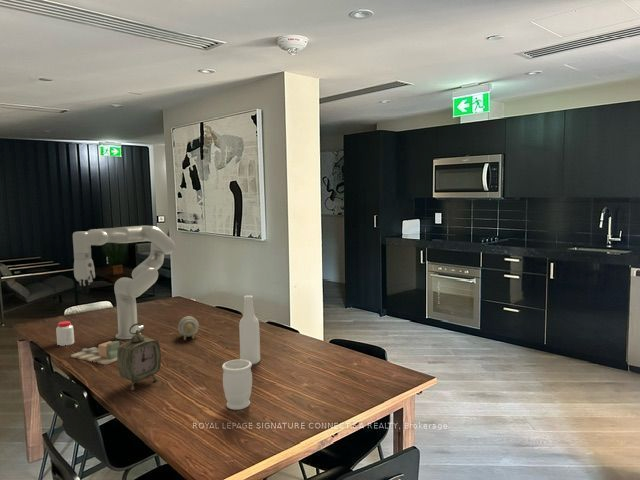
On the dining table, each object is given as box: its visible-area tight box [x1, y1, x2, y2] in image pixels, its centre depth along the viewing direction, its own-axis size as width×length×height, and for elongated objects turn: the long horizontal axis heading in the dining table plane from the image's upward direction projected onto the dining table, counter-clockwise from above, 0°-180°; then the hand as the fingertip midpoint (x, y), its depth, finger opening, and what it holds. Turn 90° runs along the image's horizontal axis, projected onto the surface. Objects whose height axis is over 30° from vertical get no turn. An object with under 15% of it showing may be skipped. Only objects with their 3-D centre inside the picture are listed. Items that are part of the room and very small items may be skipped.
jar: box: [221, 359, 253, 411], centre depth 166 cm, size 11×10×15 cm
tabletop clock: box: [116, 322, 162, 391], centre depth 185 cm, size 14×9×25 cm, turn 148°
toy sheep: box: [177, 315, 200, 341], centre depth 246 cm, size 11×17×11 cm, turn 23°
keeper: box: [97, 340, 112, 358], centre depth 215 cm, size 5×6×6 cm
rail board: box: [70, 340, 120, 366], centre depth 218 cm, size 24×12×8 cm, turn 63°
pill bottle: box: [55, 320, 75, 347], centre depth 238 cm, size 8×8×11 cm
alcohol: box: [238, 294, 261, 366], centre depth 207 cm, size 9×9×30 cm
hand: (85, 293), depth 231 cm, fingers closed
